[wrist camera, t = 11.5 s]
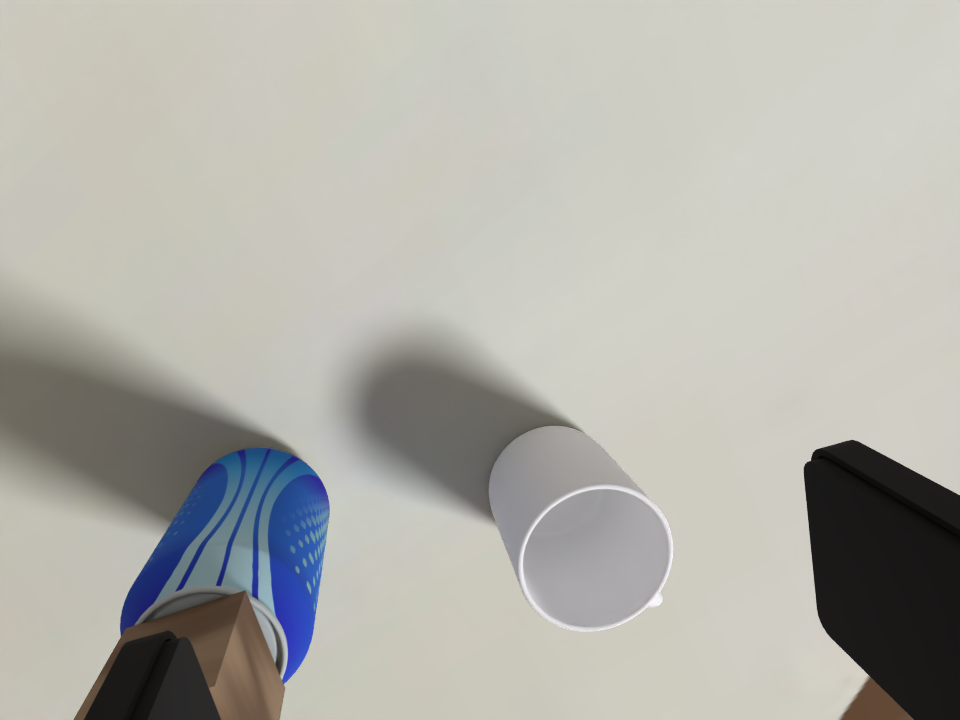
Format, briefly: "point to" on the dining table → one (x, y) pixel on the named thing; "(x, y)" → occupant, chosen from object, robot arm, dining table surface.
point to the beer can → (244, 550)
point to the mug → (578, 530)
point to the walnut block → (219, 657)
